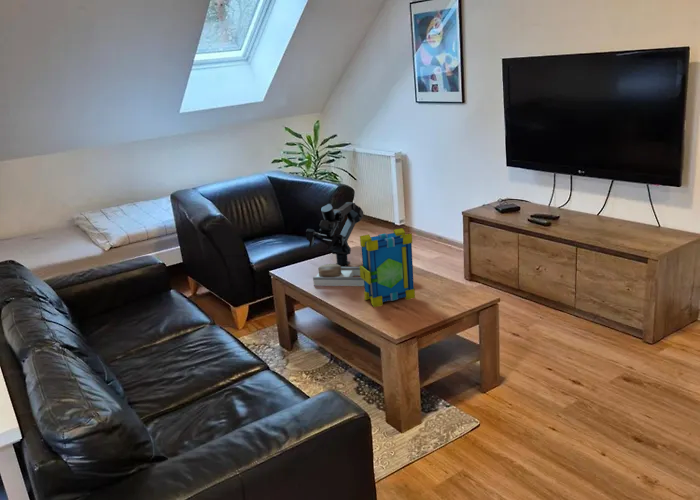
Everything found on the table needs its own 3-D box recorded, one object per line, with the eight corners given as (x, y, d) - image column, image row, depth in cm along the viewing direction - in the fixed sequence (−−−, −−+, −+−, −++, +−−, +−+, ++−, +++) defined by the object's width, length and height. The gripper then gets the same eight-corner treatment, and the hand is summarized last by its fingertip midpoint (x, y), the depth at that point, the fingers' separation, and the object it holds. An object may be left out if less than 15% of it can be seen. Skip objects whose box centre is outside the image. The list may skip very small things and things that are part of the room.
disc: (322, 270, 317) (321, 263, 316) (343, 270, 314) (343, 263, 313) (316, 278, 306) (315, 271, 305) (338, 278, 304) (337, 271, 303)
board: (322, 274, 320) (321, 264, 318) (382, 275, 312) (381, 264, 311) (313, 285, 306) (312, 275, 304) (377, 286, 298) (376, 275, 297)
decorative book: (360, 299, 285) (355, 235, 276) (407, 288, 293) (403, 226, 283) (373, 310, 272) (368, 243, 263) (421, 299, 280) (418, 234, 271)
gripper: (310, 212, 312) (298, 232, 301) (346, 218, 307) (335, 239, 296) (312, 229, 319) (301, 249, 309) (347, 235, 314) (337, 257, 304)
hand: (318, 248), depth 304 cm, fingers open, 9 cm apart
